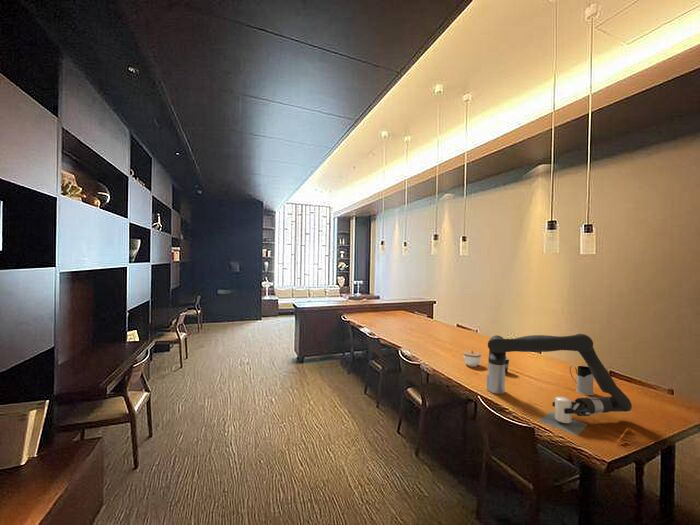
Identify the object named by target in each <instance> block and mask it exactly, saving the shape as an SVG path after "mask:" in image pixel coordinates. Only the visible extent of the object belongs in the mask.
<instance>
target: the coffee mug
mask: <svg viewBox="0 0 700 525" xmlns="http://www.w3.org/2000/svg"><path fill="white" fill-rule="evenodd" d="M509 363H510V358H509V357H507V356H506V359H505V374H508V371H509Z"/></svg>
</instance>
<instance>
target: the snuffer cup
mask: <svg viewBox="0 0 700 525" xmlns="http://www.w3.org/2000/svg"><path fill="white" fill-rule="evenodd" d="M571 401H572V400H571V399H569V398H568V397H564V396H556V397H555V398H554V402H555V407H554V413H555V419H556V420H557V421H560V422H562V423H570V422H571V419H572V414H565V413H564V409H567V408H572V402H571Z"/></svg>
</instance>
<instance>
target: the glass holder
mask: <svg viewBox="0 0 700 525" xmlns="http://www.w3.org/2000/svg"><path fill="white" fill-rule="evenodd" d="M572 367H573V368H574V369H575V374H576V375H577V376H576V379H575V378H574V376H573V374H572ZM569 374H570V377H571V378H572V380H573V381H574V383H575V384H576V390H575V392H576V391H577V392H578V394H579V393H581V394H580V395H582V394H584V395H583V396H586V395H593V396H595V394H594V377H593V375H592V373H591V371H590V369H589V367H588V366H586V365H578V366H577V367H576V366H575V365H570V366H569ZM577 392H576V393H577Z"/></svg>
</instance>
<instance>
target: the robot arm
mask: <svg viewBox="0 0 700 525" xmlns="http://www.w3.org/2000/svg"><path fill="white" fill-rule="evenodd" d="M487 348H488V350H489V352H488V359H487V361H488V370H487V371H488V372H487V374H486V390H487V391H489V393H492V394H495V395H504V394H505V393H506V373H505V359H506V357H507V356H506V353H510V352H518V353H519V352H521V353H545V352H546V353H547V352H549V353H550V352H559V351H571V352H578V353H579V355H580V356H581V358H583V360H584V361H585V363H586V365H587V367H589V369H590V371H591V373H592V375H593V379H594V380H595V382H596V384H597V386H598V387H599V389H600V390H601V391H602V392H603V393H607V394H608V395H610V396H604V397H602V396H599V397H598V396H597V397H594V396H593V397H592V396H587V397H578V398H575V400H571V402H572V408H567V409H564V413H565V414H571V415H576V416H578V417H590V415H599V414H605V413H606V414H607V413H611V412H612V413H613V412H614V413H616V412H619V413H620V412H621V413H622V412H627V413H628V412H630V411H631V410H632V408H633V406H632V402H631V400H630V398H629V397H628V396H627V395H626V394H625V393H624V392H623V391H622V389H621V388H620V387H618V386H617V384H616V383H615V381H614V379H613V377H612V376H611V374H610V373H609V371H608V370H607V368H606V367H605V366H604V364H603V362H602V361H601V360H600V359H599V356H598V354H597V353H596V350H595V348H594V342H593V339H592V338H591V337H590V336H588V335H586V334H584V333H577V334H574V335H573V334H572V335H563V336H558V335H557V336H556V335H547V334H546V335H545V334H544V335H543V334H535V335H524V336H519V337H514V338H504V337H502V336H501V335H493V336H491V337H490V339H489V340H488V342H487ZM552 407H554V408H555V401H552Z"/></svg>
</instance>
